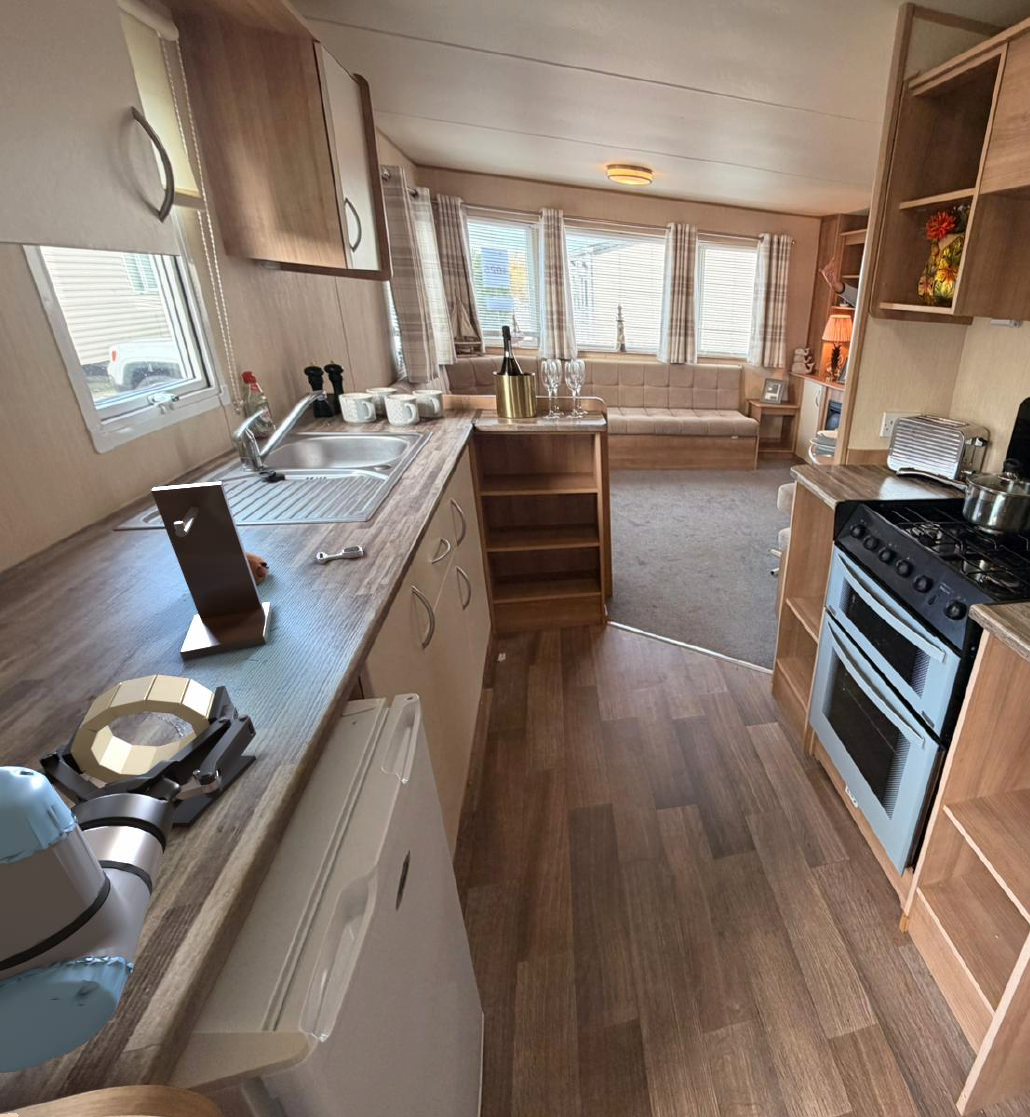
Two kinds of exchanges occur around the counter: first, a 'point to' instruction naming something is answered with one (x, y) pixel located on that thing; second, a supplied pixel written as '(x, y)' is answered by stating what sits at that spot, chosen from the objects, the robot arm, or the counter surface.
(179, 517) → the stand
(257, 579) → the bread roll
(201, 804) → the mat
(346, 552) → the metal bottle opener
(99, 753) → the tape roll
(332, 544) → the counter surface
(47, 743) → the counter surface
